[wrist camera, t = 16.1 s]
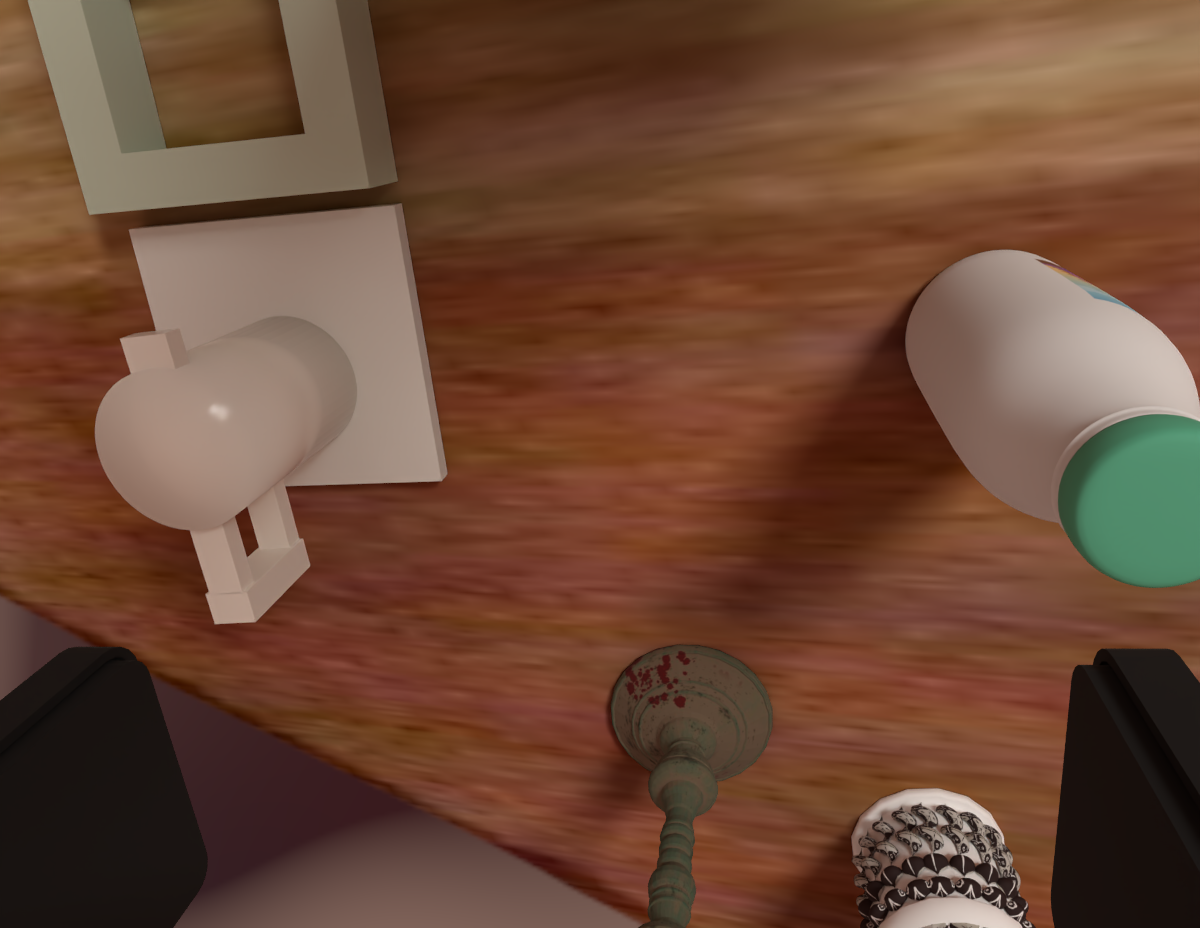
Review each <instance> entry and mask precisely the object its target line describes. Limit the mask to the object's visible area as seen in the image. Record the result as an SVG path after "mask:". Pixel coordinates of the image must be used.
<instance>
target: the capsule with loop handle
mask: <svg viewBox="0 0 1200 928" xmlns="http://www.w3.org/2000/svg"><path fill="white" fill-rule="evenodd" d="M120 341H121V344H122V347H123V350H124V354H125V357H126V360H127V363H128V366H129V369H130V372H131V374H130V375H128V376H126V377H124V378H122V379H121V380H120V381H118V382H117V383H116V384H114V385H113V386H112V388H111V389H110V390H109V391H108V392H107V394H106V395H105V397H104V398H103V400H102V402H101V404H100V407H99V409H98V413H97V416H96V423H95V441H96V447H97V452H98V455H99V459H100V461H101V464H102V466H103V469H104V471H105V473H106V475H107V477H108V478H109V480H110V481H111V483H112V484H113V486H114V487H115V489H116V490H117V491H118V492H119V494H120V495H121V496H122V497H123V498H124V499H125V500H126V501H127V502H128V503H129V504H130V505H131V506H133V507H134V508H135V509H136V510H138V511H139V512H140V513H142V514H143V515H145V516H147V517H148V518H150V519H152V520H154V521H156V522H158V523H160V524H163V525H166V526H169V527H173V528H177V529H183V530H190V533H191V536H192V539H193V543H194V546H195V549H196V552H197V555H198V559H199V562H200V565H201V568H202V571H203V575H204V578H205V581H206V584H207V587H208V591H209V592H207V593H206V597H207V601H208V604H209V607H210V610H211V613H212V617H213V620H214V623H215V624H228V623H247V622H256V621H257V620H258V619H259V618H260V617H261V616H262V615H263V614H264V613H265V612H266V611H267V610H268V609H269V608H270V607H271V606H272V605H273V604H274V603H275V602H276V601H277V600H278V599H279V598H280V597H281V596H282V595H283V594H284V593H285V592H286V590H287V589H288V588H289V587H290V586H291V585H292V584H293V583H294V582H295V581H296V580H297V579H298V578H299V577H300V576H301V575H302V574H303V573H304V572H305V571H306V570H307V569H308V568H309V567H310V562H309V559H308V555H307V551H306V548H305V544H304V540H303V539H299V536H298V532H297V528H296V525H295V521H294V517H293V514H292V510H291V506H290V503H289V499H288V495H287V492H286V488H285V484H284V480H283V478H284V477H286V476H287V475H288V474H289V473H291V472H292V471H293V470H295V469H296V468H297V467H298V466H300V465H301V464H302V463H304V462H305V461H306V460H307V459H309V458H310V457H311V456H313V455H314V454H315V453H316V452H318V451H319V450H320V449H322V448H323V447H324V446H325V445H327V444H328V443H329V442H331V441H332V440H333V439H334V438H336V437H337V436H338V435H339V434H340V433H341V432H342V431H343V430H344V429H345V428H346V427H347V425H348V424H349V422H350V420H351V418H352V416H353V413H354V411H355V407H356V402H357V383H356V378H355V374H354V371H353V368H352V365H351V363H350V361H349V359H348V357H347V355H346V354H345V352H344V350H343V349H342V348H341V346H340V345H339V344H338V343H337V342H336V341H335V340H334V338H333V337H332V336H330V335H329V334H328V333H327V332H326V331H324V330H323V329H321V328H320V327H318V326H316V325H315V324H313V323H311V322H308V321H306V320H303V319H300V318H296V317H290V316H274V317H269V318H265V319H262V320H259V321H257V322H254V323H252V324H250V325H247V326H245V327H242V328H240V329H238V330H235V331H233V332H230V333H228V334H226V335H223V336H221V337H218V338H216V339H214V340H211V341H209V342H206V343H204V344H202V345H199V346H197V347H194V348H192V349H190V350H187V351H186V349H185V345H184V342H183V339H182V335H181V332H180V328H175V329H167V330H159V331H150V332H142V333H135V334H132V335H129V336H126V337H123V338H121V339H120ZM246 507H248V511H249V514H250V518H251V521H252V525H253V528H254V532H255V535H256V539H257V542H258V545H259V548H257V549H256V550H255V551H254V552H253V553H252V554H251V555H250V556H248V557H247V556H246V553H245V549H244V546H243V542H242V539H241V536H240V532H239V529H238V525H237V522H236V519H235V516H236V515H237V514H238V513H239V512H241V511H242V510H243V509H245V508H246Z"/></svg>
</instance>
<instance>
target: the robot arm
mask: <svg viewBox="0 0 1200 928" xmlns="http://www.w3.org/2000/svg"><path fill="white" fill-rule="evenodd" d="M207 860H208V859H207V852H206V849H205V846H204V842H203V839H202V836H201V833H200V830H199V827H198V824H197V820H196V818H195V814H194V811H193V808H192V805H191V802H190V799H189V795H188V792H187V789H186V786H185V783H184V780H183V777H182V773H181V770H180V767H179V764H178V761H177V758H176V755H175V751H174V748H173V745H172V742H171V739H170V736H169V733H168V729H167V726H166V723H165V720H164V717H163V714H162V711H161V707H160V704H159V702H158V699H157V695H156V692H155V689H154V685H153V682H152V679H151V676H150V673H149V671H148V669H147V667H146V666H145V665H144V664H143V663H142V662H139V661H137V659H136V657H135V655H134V654H133V653H132V652H131V651H129V650H128V649H125V648H122V647H73V648H68V649H66V650H64V651H63V652H61V653H59V654H58V655H57V656H56V657H54V658H53V659H52V660H51V661H49V662H48V663H47V664H46V665H44V666H43V667H42V668H41V669H39V670H38V671H37V672H35V673H34V674H33V675H32V676H30V677H29V678H28V679H27V680H26V681H24V682H23V683H22V684H20V685H19V686H18V687H17V688H15V689H14V690H13V691H12V692H11V693H9V694H8V695H7V696H5V697H4V698H3V699H2V700H0V928H173V927H174V926H175V924H176V923H177V922H178V920H179V919H180V917H181V916H182V914H183V913H184V911H185V910H186V909H187V907H188V906H189V904H190V903H191V902H192V900H193V899H194V897H195V896H196V895H197V893H198V891H199V890H200V888H201V886H202V884H203V881H204V878H205V876H206V871H207ZM1051 908H1052V916H1053V922H1054V926H1055V928H1200V683H1199V681H1198V680H1197V679H1196V677H1195V676H1194V675H1193V673H1192V672H1191V671H1190V669H1189V668H1188V667H1187V665H1186V664H1185V663H1184V661H1183V660H1182V659H1181V657H1180V656H1179V655H1178V654H1177V653H1176V652H1175V651H1174V650H1170V649H1101V650H1099V651H1098V652H1097V654H1096V656H1095V658H1094V662H1093V665H1078V666H1076V667H1075V669H1074V671H1073V675H1072V681H1071V691H1070V701H1069V712H1068V722H1067V732H1066V743H1065V753H1064V763H1063V773H1062V784H1061V794H1060V804H1059V815H1058V825H1057V835H1056V845H1055V856H1054V866H1053V876H1052V887H1051Z"/></svg>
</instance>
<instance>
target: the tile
mask: <svg viewBox="0 0 1200 928" xmlns="http://www.w3.org/2000/svg"><path fill="white" fill-rule="evenodd" d="M128 230H129V233H130V237H131V241H132V244H133V248H134V251H135V255H136V259H137V262H138V266H139V270H140V273H141V277H142V281H143V284H144V288H145V292H146V295H147V299H148V303H149V306H150V310H151V314H152V317H153V321H154V325H155V328H156V331H159V330H167V329H175V328H180V332H181V335H182V339H183V342H184V345H185V349H186V351H187V350H190V349H192V348H194V347H197V346H199V345H202V344H204V343H206V342H209V341H211V340H214V339H216V338H218V337H221V336H223V335H226V334H228V333H230V332H233V331H235V330H238V329H240V328H242V327H245V326H247V325H250V324H252V323H254V322H257V321H259V320H262V319H265V318H269V317H274V316H290V317H296V318H300V319H303V320H306V321H308V322H311V323H313V324H315V325H316V326H318V327H320V328H321V329H323V330H324V331H326V332H327V333H328V334H329V335H330V336H332V337H333V338H334V340H335V341H336V342H337V343H338V344H339V345H340V346H341V348H342V349H343V350H344V352H345V354H346V355H347V357H348V359H349V361H350V363H351V365H352V368H353V371H354V374H355V378H356V383H357V402H356V407H355V411H354V413H353V416H352V418H351V420H350V422H349V424H348V425H347V427H346V428H345V429H344V430H343V431H342V432H341V433H340V434H339V435H338V436H337V437H336V438H334V439H333V440H332V441H331V442H329V443H328V444H327V445H325V446H324V447H323V448H322V449H320V450H319V451H318V452H316V453H315V454H314V455H313V456H311V457H310V458H309V459H307V460H306V461H305V462H304V463H302V464H301V465H300V466H298V467H297V468H296V469H295V470H293V471H292V472H291V473H289V474H288V475H287V476H286V477H284V478H283V480H284V484H285V486H308V485H339V484H369V483H400V482H431V481H442V480H443V479H444V478H445V476H446V475H447V474H448V473H447V468H446V462H445V456H444V450H443V444H442V438H441V432H440V426H439V420H438V414H437V408H436V403H435V397H434V391H433V385H432V379H431V373H430V367H429V361H428V355H427V349H426V343H425V338H424V332H423V326H422V320H421V314H420V308H419V302H418V296H417V290H416V284H415V279H414V273H413V267H412V261H411V255H410V249H409V243H408V237H407V231H406V225H405V219H404V214H403V208H402V203H397V204H386V205H375V206H364V207H353V208H342V209H331V210H320V211H309V212H298V213H287V214H276V215H265V216H254V217H243V218H232V219H221V220H210V221H199V222H189V223H178V224H167V225H156V226H145V227H138V228H133V229H128Z"/></svg>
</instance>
